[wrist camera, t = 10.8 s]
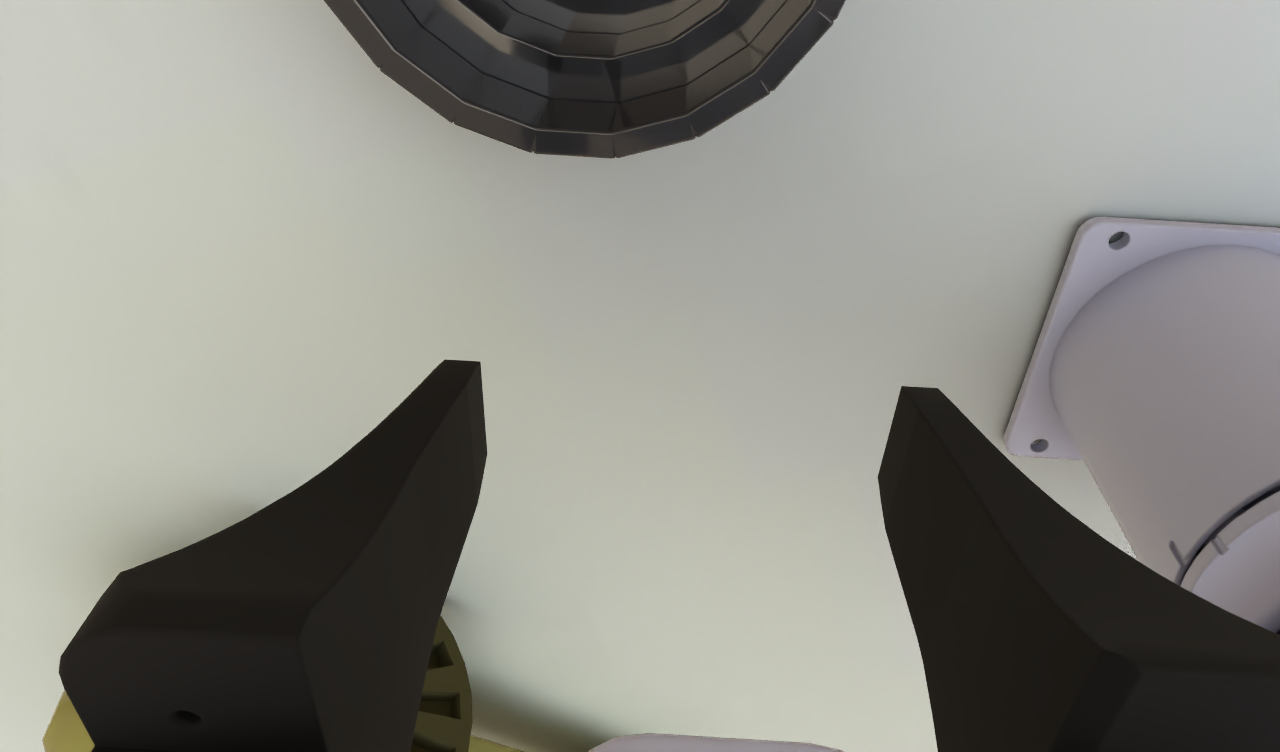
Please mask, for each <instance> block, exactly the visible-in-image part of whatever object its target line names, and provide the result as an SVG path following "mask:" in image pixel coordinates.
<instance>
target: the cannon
mask: <svg viewBox="0 0 1280 752" xmlns="http://www.w3.org/2000/svg"><path fill="white" fill-rule="evenodd" d="M471 729H472V701H471V689H470V685H469V680H468V676H467V671H466V667H465V663H464V660H463V658H462V656H461V653H460V651H459V648H458V646H457V643H456V641H455V639H454V636H453V635H452V633H451V631H450V630H449V628H448V627H447V625H446V623H445V622H444V620H443V619H442V617H441V616H440V618H439V621H438V625H437V628H436V632H435V636H434V641H433V645H432V650H431V654H430V659H429V663H428V668H427V672H426V677H425V681H424V686H423V691H422V696H421V701H420V706H419V711H418V716H417V720H416V725H415V730H414V735H413V740H412V746H411V751H410V752H525V751H521V750H518V749H515V748H512V747H508V746H505V745H502V744H498V743H495V742H492V741H489V740H485V739H482V738H479V737H476V736H472V735H471ZM42 741H43V745H44V749H45V752H91V751H92V749H93V748H94V746H95V745H94V743H93V741H92V739H91V738H90V736H89V734H88V732H87V730H86V728H85V726H84V725H83V723H82V721H81V719H80V717H79V715H78V714H77V712H76V710H75V708H74V706H73V704H72V703H71V701H70V699H69V697H68V695H67V693H66V691H64V692H63V694H62V696H61V698H60V700H59V702H58V704H57V707H56V709H55V711H54V713H53V716H52V718H51V720H50V722H49V725H48V727H47V729H46V732H45V734H44V737H43V739H42Z"/></svg>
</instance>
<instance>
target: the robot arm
mask: <svg viewBox="0 0 1280 752" xmlns="http://www.w3.org/2000/svg"><path fill="white" fill-rule="evenodd" d="M1117 232H1124V235H1123V236H1122V238H1121V239H1120V240H1119V241H1117V242H1115V243H1109V239H1110V238H1111V236H1112V235H1114V234H1115V233H1117ZM1038 439H1043V440H1042V442H1040V443H1038V444H1032V443H1033V442H1034V441H1036V440H1038ZM1003 441H1004V444H1005V446H1006V448H1007V450H1008V452H1009V453H1011V454H1012V455H1016V456H1026V457H1041V458H1056V459H1070V460H1084V461H1085V463H1086V465H1087V467H1088V469H1089V471H1090V473H1091V474H1092V476H1093V478H1094V480H1095V482H1096V484H1097V485H1098V487H1099V489H1100V491H1101V493H1102V495H1103V496H1104V498H1105V500H1106V502H1107V504H1108V506H1109V507H1110V509H1111V511H1112V513H1113V515H1114V517H1115V518H1116V520H1117V522H1118V524H1119V526H1120V528H1121V530H1122V531H1123V533H1124V535H1125V537H1126V539H1127V541H1128V542H1129V544H1130V546H1131V548H1132V550H1133V552H1134V553H1135V555H1136V557H1137V559H1138V561H1137V560H1136V559H1134V558H1133V557H1131V556H1129V555H1128V554H1126V553H1125V552H1123V551H1122V550H1120V549H1119V548H1117V547H1116V546H1114V545H1113V544H1111V543H1110V542H1108V541H1107V540H1105V539H1104V538H1102V537H1101V536H1100V535H1098V534H1097V533H1096V532H1094V531H1093V530H1092V529H1090V528H1089V527H1088V526H1086V525H1085V524H1084V523H1082V522H1081V521H1079V520H1078V519H1077V518H1075V517H1074V516H1073V515H1071V514H1070V513H1069V512H1068V511H1066V510H1065V509H1064V508H1063V507H1061V506H1060V505H1059V504H1058V503H1056V502H1055V501H1054V500H1053V499H1052V498H1051V497H1049V496H1048V495H1047V494H1046V493H1045V492H1044V491H1043V490H1041V489H1040V488H1039V487H1038V486H1037V485H1036V484H1034V483H1033V482H1032V481H1031V480H1030V479H1029V478H1028V477H1027V476H1025V475H1024V474H1023V473H1022V472H1021V471H1020V470H1019V469H1018V468H1017V467H1016V466H1015V465H1014V464H1013V463H1011V462H1010V461H1009V460H1008V459H1007V458H1006V457H1005V456H1004V455H1003V454H1002V453H1001V452H1000V451H999V450H998V449H997V448H996V447H995V446H994V445H993V444H992V443H991V442H990V441H989V440H988V439H987V438H986V437H985V436H984V435H983V434H982V433H981V432H980V431H979V430H978V429H977V428H976V427H975V426H974V425H973V424H972V423H971V422H970V421H969V419H968V418H967V417H966V416H965V415H964V414H963V413H962V412H961V411H960V410H959V409H958V408H957V407H956V406H955V405H954V404H953V403H952V402H951V401H950V400H949V399H948V398H947V397H946V396H945V395H944V394H943V393H942V392H941V391H940V390H939V389H938V388H924V387H907V386H902V387H901V391H900V395H899V398H898V402H897V406H896V410H895V414H894V417H893V421H892V425H891V429H890V433H889V436H888V440H887V444H886V448H885V452H884V455H883V459H882V463H881V467H880V471H879V475H878V481H879V489H880V497H881V504H882V511H883V517H884V523H885V529H886V533H887V536H888V540H889V543H890V547H891V550H892V554H893V557H894V561H895V564H896V568H897V571H898V574H899V578H900V581H901V585H902V588H903V591H904V595H905V598H906V601H907V605H908V608H909V612H910V615H911V618H912V622H913V625H914V628H915V632H916V635H917V639H918V643H919V647H920V651H921V655H922V659H923V664H924V670H925V675H926V681H927V687H928V692H929V698H930V704H931V709H932V715H933V722H934V728H935V735H936V741H937V748H938V752H1280V228H1276V227H1260V226H1244V225H1228V224H1212V223H1196V222H1180V221H1164V220H1148V219H1132V218H1116V217H1094V218H1092V219H1089V220H1087V221H1086V222H1084V223H1083V224H1082V225H1081V226H1080V227H1079V229H1078V231H1077V233H1076V235H1075V238H1074V241H1073V244H1072V246H1071V249H1070V252H1069V255H1068V258H1067V261H1066V263H1065V266H1064V269H1063V272H1062V275H1061V277H1060V280H1059V283H1058V286H1057V289H1056V291H1055V294H1054V297H1053V300H1052V303H1051V305H1050V308H1049V311H1048V314H1047V317H1046V319H1045V322H1044V325H1043V328H1042V331H1041V334H1040V336H1039V339H1038V342H1037V345H1036V348H1035V350H1034V353H1033V356H1032V359H1031V362H1030V364H1029V367H1028V370H1027V373H1026V376H1025V378H1024V381H1023V384H1022V387H1021V390H1020V392H1019V395H1018V398H1017V401H1016V404H1015V406H1014V409H1013V412H1012V415H1011V418H1010V421H1009V423H1008V426H1007V429H1006V432H1005V435H1004V440H1003ZM486 457H487V444H486V431H485V418H484V404H483V391H482V378H481V364H480V362H477V361H460V360H444V361H443V362H442V363H441V364H439V365H438V366H437V367H436V368H435V369H434V370H433V371H432V372H431V373H430V374H429V375H428V377H427V378H426V379H425V380H424V381H423V382H422V383H421V384H420V385H419V386H418V387H417V388H416V389H415V390H414V391H413V392H412V393H411V394H410V395H409V396H408V397H407V398H406V399H405V400H404V401H403V402H402V403H401V404H400V405H399V406H398V407H397V408H396V409H395V410H394V411H393V412H392V413H390V414H389V415H388V416H387V417H386V418H385V419H384V420H383V421H382V422H381V423H380V424H379V425H378V426H377V427H376V428H375V429H373V430H372V431H371V432H370V433H369V434H368V435H367V436H365V437H364V438H363V439H362V440H361V441H360V442H358V443H357V444H356V445H355V446H354V447H352V448H351V449H350V450H349V451H348V452H347V453H345V454H344V455H343V456H342V457H341V458H339V459H338V460H337V461H335V462H334V463H333V464H332V465H330V466H329V467H328V468H326V469H325V470H324V471H322V472H321V473H319V474H318V475H316V476H315V477H313V478H312V479H311V480H309V481H308V482H306V483H305V484H303V485H302V486H300V487H299V488H297V489H296V490H294V491H293V492H291V493H289V494H287V495H286V496H284V497H282V498H281V499H279V500H277V501H275V502H274V503H272V504H270V505H269V506H267V507H265V508H264V509H262V510H260V511H258V512H257V513H255V514H253V515H252V516H250V517H248V518H246V519H244V520H242V521H240V522H238V523H236V524H234V525H232V526H230V527H228V528H226V529H224V530H222V531H220V532H218V533H216V534H214V535H212V536H210V537H207V538H205V539H203V540H201V541H199V542H197V543H194V544H192V545H190V546H188V547H185V548H183V549H181V550H178V551H175V552H173V553H170V554H168V555H165V556H163V557H160V558H157V559H155V560H152V561H150V562H147V563H145V564H142V565H139V566H137V567H134V568H132V569H129V570H126V571H123V572H120V574H119V575H118V576H117V577H116V579H115V580H114V581H113V582H112V584H111V585H110V586H109V587H108V589H107V590H106V591H105V592H104V594H103V595H102V596H101V598H100V599H99V601H98V602H97V604H96V605H95V607H94V608H93V610H92V611H91V613H90V614H89V616H88V617H87V619H86V620H85V621H84V623H83V624H82V626H81V627H80V629H79V630H78V632H77V633H76V635H75V636H74V638H73V639H72V641H71V642H70V644H69V645H68V647H67V648H66V650H65V651H64V652H63V654H62V655H61V658H60V666H59V674H60V677H61V680H62V683H63V686H64V689H65V691H66V693H67V695H68V697H69V699H70V701H71V703H72V704H73V706H74V708H75V710H76V712H77V714H78V715H79V717H80V719H81V721H82V723H83V725H84V726H85V728H86V730H87V732H88V734H89V736H90V738H91V739H92V741H93V743H94V745H95V746H94V748H93V749H92V751H91V752H410V751H411V746H412V740H413V735H414V730H415V725H416V720H417V716H418V711H419V706H420V701H421V696H422V691H423V686H424V681H425V677H426V672H427V668H428V663H429V659H430V654H431V650H432V645H433V641H434V636H435V632H436V628H437V625H438V621H439V618H440V614H441V611H442V608H443V605H444V602H445V599H446V596H447V593H448V590H449V587H450V584H451V581H452V578H453V575H454V572H455V569H456V566H457V563H458V561H459V558H460V555H461V552H462V549H463V546H464V543H465V540H466V537H467V534H468V531H469V528H470V525H471V522H472V519H473V516H474V513H475V510H476V507H477V504H478V499H479V494H480V489H481V484H482V479H483V474H484V468H485V463H486ZM588 752H844V751H842V750H838V749H834V748H829V747H825V746H821V745H816V744H812V743H800V742H784V741H768V740H752V739H736V738H720V737H703V736H687V735H671V734H655V733H646V734H636V735H625V736H616V737H614V738H612V739H610V740H608V741H606V742H604V743H602V744H600V745H599V746H597V747H595V748H593V749H591V750H589V751H588Z"/></svg>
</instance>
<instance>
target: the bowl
mask: <svg viewBox="0 0 1280 752" xmlns="http://www.w3.org/2000/svg"><path fill="white" fill-rule="evenodd" d="M324 1H325V2H326V4H327V5H328V6H329V7H330V9H331V10H332V11H333V12H334V14H335V15H336V16H337V17H338V19H339V20H340V21H341V22H342V24H343V25H344V26H345V27H346V29H347V30H348V31H349V32H350V34H351V35H352V36H353V37H354V39H355V40H356V41H357V42H358V44H359V45H360V46H361V47H362V49H363V50H364V51H365V52H366V54H367V55H368V56H369V57H370V59H371V60H372V61H373V63H374V64H375V65H376V66H377V67H378V68H380V70H381V71H382V72H383V73H384V74H386V75H387V76H388V77H390V78H391V79H392V80H394V81H395V82H396V83H398V84H399V85H401V86H402V87H403V88H405V89H406V90H407V91H409V92H410V93H411V94H413V95H414V96H415V97H417V98H418V99H420V100H421V101H422V102H424V103H425V104H426V105H428V106H429V107H430V108H432V109H433V110H434V111H436V112H437V113H439V114H440V115H441V116H443V117H444V118H445V119H447V120H448V121H449V122H451V123H453V122H454V124H455V125H458V126H460V127H463V128H466V129H469V130H471V131H474V132H477V133H479V134H482V135H485V136H487V137H490V138H493V139H495V140H498V141H501V142H503V143H506V144H509V145H511V146H514V147H517V148H519V149H522V150H525V151H528V152H533V151H534V153H536V154H549V155H565V156H581V157H597V158H615V156H616V158H621V157H625V156H629V155H633V154H637V153H641V152H645V151H649V150H653V149H657V148H661V147H665V146H669V145H673V144H677V143H681V142H685V141H689V140H693V139H695V138H696V137H700V136H702V135H703V134H705V133H707V132H708V131H710V130H712V129H713V128H715V127H717V126H718V125H720V124H721V123H723V122H725V121H726V120H728V119H730V118H731V117H733V116H735V115H736V114H738V113H739V112H741V111H743V110H744V109H746V108H748V107H749V106H751V105H753V104H754V103H756V102H758V101H759V100H761V99H762V98H764V97H766V96H767V95H769V93H770V91H773V90H775V89H776V88H777V86H778V85H779V84H780V83H781V82H782V81H783V80H784V79H785V77H786V76H787V75H788V74H789V73H790V72H791V71H792V70H793V68H794V67H795V66H796V65H797V64H798V63H799V62H800V61H801V60H802V58H803V57H804V56H805V55H806V54H807V53H808V52H809V51H810V49H811V48H812V47H813V46H814V45H815V44H816V43H817V42H818V40H819V39H820V38H821V37H822V36H823V35H824V34H825V33H826V32H827V30H828V29H829V28H830V27H831V26H832V25H833V22H834V21H833V20H835V19H836V18H837V17H838V15H839V13H840V11H841V9H842V7H843V5H844V3H845V1H846V0H324Z"/></svg>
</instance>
